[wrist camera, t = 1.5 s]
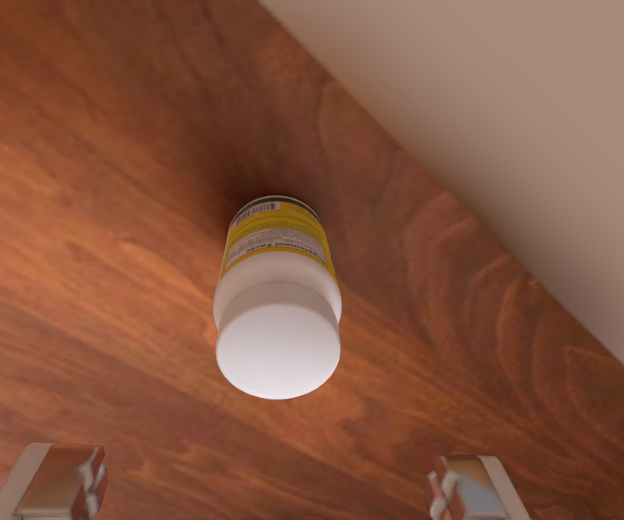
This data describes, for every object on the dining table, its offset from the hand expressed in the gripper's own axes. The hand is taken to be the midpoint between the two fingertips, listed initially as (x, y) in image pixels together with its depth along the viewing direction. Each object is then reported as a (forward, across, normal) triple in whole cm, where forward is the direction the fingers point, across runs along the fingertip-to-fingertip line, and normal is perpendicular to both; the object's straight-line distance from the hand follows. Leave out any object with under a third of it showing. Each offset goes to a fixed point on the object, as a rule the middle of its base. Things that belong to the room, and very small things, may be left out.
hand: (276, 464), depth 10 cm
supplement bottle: (+12, 0, 0) cm, 12 cm away
